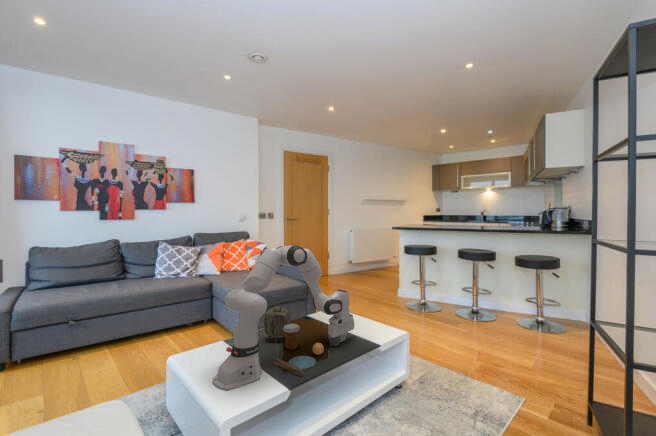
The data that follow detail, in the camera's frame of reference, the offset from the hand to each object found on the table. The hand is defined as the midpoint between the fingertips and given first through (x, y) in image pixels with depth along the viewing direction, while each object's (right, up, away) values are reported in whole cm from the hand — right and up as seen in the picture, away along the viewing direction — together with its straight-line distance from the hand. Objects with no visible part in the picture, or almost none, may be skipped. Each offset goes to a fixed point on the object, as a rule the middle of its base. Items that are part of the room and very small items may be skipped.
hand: (342, 340), depth 184 cm
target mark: (-22, -1, -24) cm, 33 cm away
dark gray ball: (-4, +2, -5) cm, 7 cm away
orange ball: (-14, +2, -15) cm, 21 cm away
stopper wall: (-28, -2, -31) cm, 42 cm away
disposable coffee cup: (-29, -2, -6) cm, 30 cm away
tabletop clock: (-39, -2, +4) cm, 39 cm away
